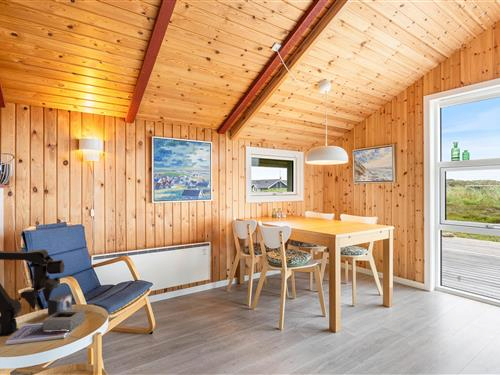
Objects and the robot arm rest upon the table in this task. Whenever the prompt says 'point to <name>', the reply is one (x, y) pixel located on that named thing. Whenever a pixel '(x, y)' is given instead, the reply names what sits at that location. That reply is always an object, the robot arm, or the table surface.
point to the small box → (59, 303)
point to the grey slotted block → (64, 320)
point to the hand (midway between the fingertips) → (40, 305)
